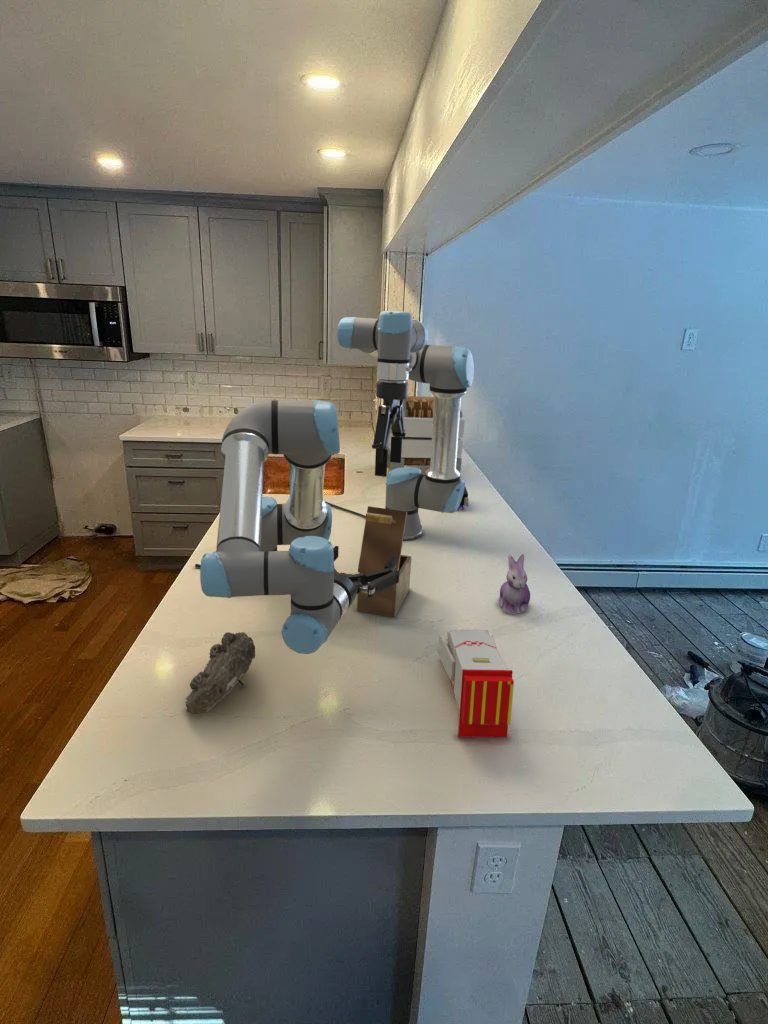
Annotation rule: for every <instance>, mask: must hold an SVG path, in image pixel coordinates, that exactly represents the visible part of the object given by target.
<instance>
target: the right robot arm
mask: <svg viewBox="0 0 768 1024" xmlns="http://www.w3.org/2000/svg"><path fill="white" fill-rule="evenodd" d="M336 339H337V342H338V344H339V346H341V347H342V348H344V349H349V350H353V349H356V350H359V351H361V352H363V353H365V354H367V355H369V356H370V357H372V358H374V359H376V377H375V378H376V379H377V380H378V381H376V383H375V396H376V398H378V399H382V400H383V402H382V404H379V405H378V407H377V411H378V412H377V418H376V419H377V420H376V425H375V431H374V437H373V443H372V445H371V448H372V449H373V450H375V457H374V458H375V459H374V476H376V477H383V478H386V482H385V504H384V505H385V507H384V509H392V510H399V511H406V512H407V518H406V524H405V531H404V537H403V541H410V540H415V539H418V538H420V537H421V536H422V535H423V525H422V524H421V518H420V515H419V509H422V510H428V511H433V512H438V513H442V514H443V513H447V514H454V513H456V512H457V511H458V509H459V508H460V507H459V505H460V503H461V500H462V497H463V493H464V489H465V487H466V481H465V480H463V479H461V474H460V472H459V471H458V470H457V469H456V462H457V448H458V435H459V421H460V408H461V405H462V397H463V396H464V395H465V394H466V393H467V391H468V388H471V386H472V385H473V383H474V376H475V364H474V363H475V361H474V358H473V354H472V351H471V350H470V349H469V348H467V347H464V346H456V345H441V344H440V345H438V344H427V343H428V341H429V330H428V328H427V327H426V325H425V324H424V323H423V322H422V321H419V320H417V319H413V315H412V313H411V312H410V311H398V310H397V311H396V310H382V311H381V312H380V313H379V317H378V318H371V317H358V316H357V317H356V316H347V317H346V316H345V317H342V318H341V319H340V320H339V322H338V324H337V329H336ZM408 380H410V381H412V382H416V383H420V384H429V392H430V393H431V394H432V396H433V397H434V405H433V424H432V442H431V461H430V466H429V468H427V469H426V470H425V471H424V472H425V473H422V469H421V468H419V467H417V466H404V467H403V468H397V469H393V470H391V471H390V470H389V472H388V467H387V458H388V449H386V448H387V444H388V440H389V435H390V431H391V430H392V435H393V436H394V437H391V452H390V462H395V463H401V451H402V437H405V436H406V433H404V432H405V427H404V413H403V399H406V398H407V397H408V396H409V383H408V382H407V381H408ZM461 409H462V408H461ZM287 487H288V488H290V485H289V484H287ZM324 502H325V503H327V504H329V505H330V506H331V507H334V508H336V509H340V510H342V511H346V512H348V513H350V514H354V515H357V516H360V517H362V518H365V516H366V514H365V515H364V514H363V513H361V512H360V513H359V512H356V511H354V510H351V509H348V508H345V507H342V506H339V505H336V504H334V503H331V502H328V501H325V500H324Z"/></svg>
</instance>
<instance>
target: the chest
mask: <svg viewBox="0 0 768 1024" xmlns="http://www.w3.org/2000/svg"><path fill="white" fill-rule="evenodd" d="M411 569H412V556H411V555H405V554H401V557H400V564H399V570H398V571H400V575H399V583H397V584H395V585H393V586H391V587H389V588H387V589H384V590H382V591H380V592H378V593H376V594H375V595H374V596H373V597H372V598H369V597H367V593H364V592H361V593H359V594H357V595H356V597H357V599H356V600H357V601H356V604H357V605H356V611H358V612H363V613H368V614H373V615H378V616H379V615H380V616H385V617H390V618H395V617H396V616H397V614H398V612H399V610H400V608H401V606H402V604H403V602H404V600H405V598H406V596H407V595H408V593H409V591H410V584H411V583H410V582H411ZM363 574H365V573H363ZM359 581H360V578H359Z"/></svg>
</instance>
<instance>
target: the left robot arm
mask: <svg viewBox="0 0 768 1024" xmlns="http://www.w3.org/2000/svg"><path fill="white" fill-rule="evenodd" d="M339 433H340V431H339V419H338V410H337V406H336V405H335V404H334V403H333V402H332V401H327V400H326V401H325V400H319V399H315V400H303V399H302V400H297V399H295V400H291V399H289V400H287V399H285V400H284V399H282V400H279V399H277V400H276V399H261V400H258V401H254V402H252V403H250V404H247V406H246V407H244V408H243V409H241V410H239V411H238V413H236V415H234V417H233V418H232V419H231V420H230V421H229V423H228V424H227V426H226V427H225V430H224V432H223V435H222V438H221V446H220V453H221V456H222V457H223V459H224V468H223V478H222V480H223V481H222V487H221V488H222V489H221V496H220V497H221V499H220V506H219V507H220V508H219V518H218V528H217V538H216V551H212V552H205V553H204V554H203V555H202V557H201V561H200V563H195V564H194V567H195V568H199V580H200V588H201V591H202V593H203V594H204V596H206V597H208V598H209V597H210V598H228V599H231V598H239V597H254V596H255V597H259V596H290V615H288V617H287V618H286V619H285V621H284V623H283V625H282V627H281V636H282V640H283V642H284V644H285V645H286V646H287V647H288V648H289V649H290V650H291V651H293V652H295V653H297V654H300V655H311V654H313V653H315V652H317V651H318V650H319V649H320V648H321V647H322V645H323V644H325V643H326V642H327V641H328V638H329V636H330V635H331V634H332V632H333V630H334V629H335V628H336V626H337V625H338V623H339V621H340V620H341V619H342V617H343V616H344V615H345V614H346V612H347V610H348V609H349V608H350V606H351V605H352V604H353V602H354V600H355V598H356V597H357V595H358V594H359V593H361V592H364V593H367V597H369V598H372V597H373V596H374V595H375V594H376V593H378V592H380V591H382V590H384V589H387V588H389V587H391V586H393V585H395V584H397V583H399V575H400V571H397V570H396V564H395V557H396V555H392V556H391V557H390V559H389V560H388V562H387V563H386V565H385V566H384V569H382V570H378V571H374V572H370V573H366V574H363V573H359V572H357V573H347V572H346V573H345V572H340V571H338V570H337V569H336V568H335V562H336V561H337V560H338V558H339V550H340V549H339V546H338V545H334V546H333V544H332V542H331V541H329V540H330V538H331V534H332V527H333V511H332V506H331V505H329V504H327V503H325V502H324V501H325V500H324V498H323V497H324V486H325V485H324V484H325V471H326V470H325V469H326V464H328V462H329V461H330V460H331V458H332V456H334V455H339V454H340V452H341V444H340V434H339ZM269 455H282V456H283V457H284V459H285V460H286V461H287V463H288V475H289V476H288V477H289V478H288V479H289V480H288V481H289V483H288V485H290V487H289V498H288V499H287V501H286V502H285V503H278V501H277V500H276V499H275V498H273V497H271V496H263V493H264V491H263V488H264V487H263V486H264V463H265V462H266V461H267V460H268V458H269ZM278 546H289V548H288V550H278ZM359 578H360V581H359Z"/></svg>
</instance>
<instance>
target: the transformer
mask: <svg viewBox="0 0 768 1024" xmlns="http://www.w3.org/2000/svg"><path fill="white" fill-rule="evenodd" d="M433 405H434V396H415V395H414V396H413V395H412V396H411V395H408V397H407V398H406V399H403V413H404V427H405V432H404V433H406V436H405V437H402V451H401V463H395V462H390V452H391V437H394V436H393V435H392V430H391V431H390V435H389V440H388V444H387V448H386V449H388V458H387V468H389V472H390V471H391V470H393V469H397V468H403V467H405V466H406V467H417V466H418V467H430V461H431V442H432V424H433ZM464 429H465V419H464V418H463V411H462V408H460V421H459V435H458V448H457V462H456V469H457V470H458V471H459V472H460V475H461V472H462V461H463V460H462V453H463V442H464V441H463V440H462V439H463V438H464V431H465V430H464Z"/></svg>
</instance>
